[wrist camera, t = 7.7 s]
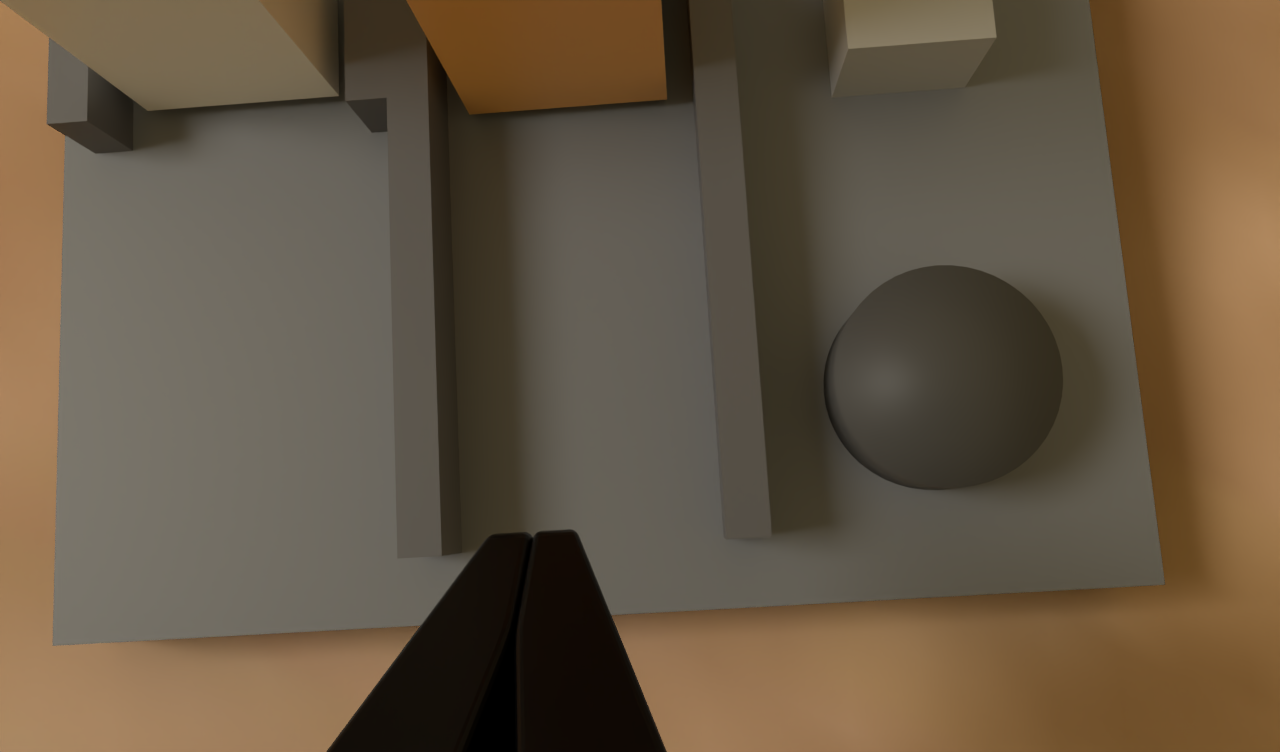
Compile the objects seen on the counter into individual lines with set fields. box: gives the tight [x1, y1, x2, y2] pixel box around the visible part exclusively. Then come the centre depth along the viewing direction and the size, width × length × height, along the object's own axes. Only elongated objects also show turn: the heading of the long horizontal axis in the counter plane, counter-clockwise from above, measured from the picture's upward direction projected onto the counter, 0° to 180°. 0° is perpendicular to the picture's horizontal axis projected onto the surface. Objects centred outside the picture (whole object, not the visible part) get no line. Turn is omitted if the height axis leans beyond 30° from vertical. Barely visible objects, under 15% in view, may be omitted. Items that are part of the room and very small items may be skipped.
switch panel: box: [47, 0, 1165, 646], centre depth 15 cm, size 12×16×4 cm
